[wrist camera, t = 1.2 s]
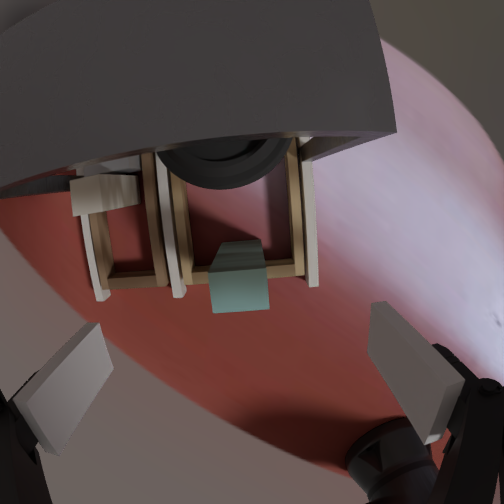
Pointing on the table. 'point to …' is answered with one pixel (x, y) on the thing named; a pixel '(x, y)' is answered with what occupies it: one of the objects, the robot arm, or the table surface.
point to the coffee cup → (225, 162)
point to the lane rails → (172, 238)
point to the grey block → (115, 166)
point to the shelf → (184, 81)
